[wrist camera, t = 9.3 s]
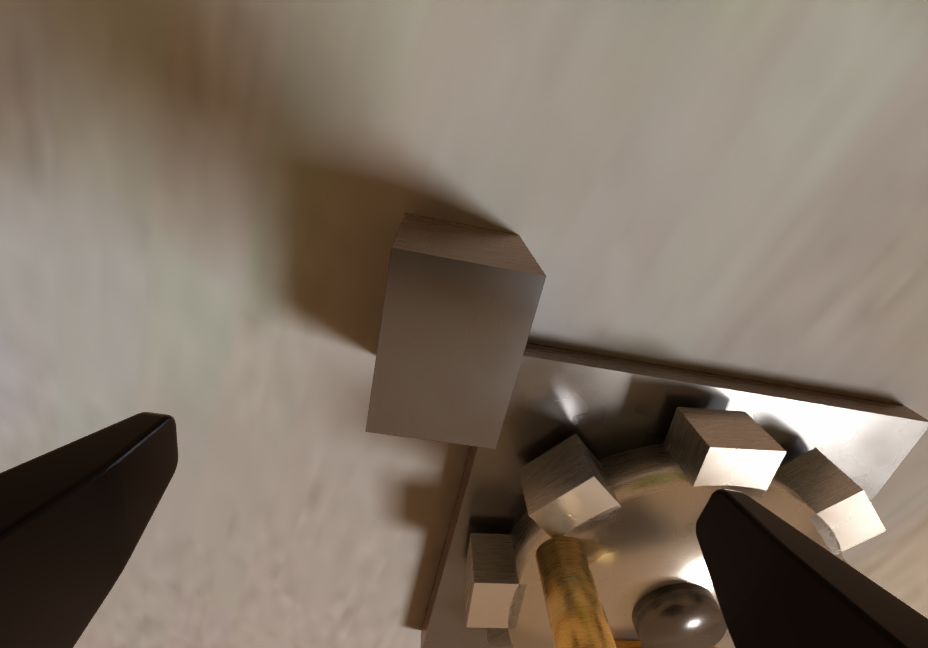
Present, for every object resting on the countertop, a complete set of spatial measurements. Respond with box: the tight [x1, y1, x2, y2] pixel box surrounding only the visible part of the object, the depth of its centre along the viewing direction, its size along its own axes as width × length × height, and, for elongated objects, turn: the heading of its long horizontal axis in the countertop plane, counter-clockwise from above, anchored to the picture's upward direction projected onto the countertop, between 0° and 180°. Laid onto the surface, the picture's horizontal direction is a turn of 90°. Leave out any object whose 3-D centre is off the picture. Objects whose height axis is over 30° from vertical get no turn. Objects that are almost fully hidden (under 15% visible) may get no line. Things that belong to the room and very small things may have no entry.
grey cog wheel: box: [464, 407, 886, 648], centre depth 15 cm, size 15×15×6 cm
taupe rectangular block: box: [366, 213, 546, 449], centre depth 13 cm, size 4×5×4 cm
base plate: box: [421, 343, 928, 648], centre depth 19 cm, size 16×16×1 cm
